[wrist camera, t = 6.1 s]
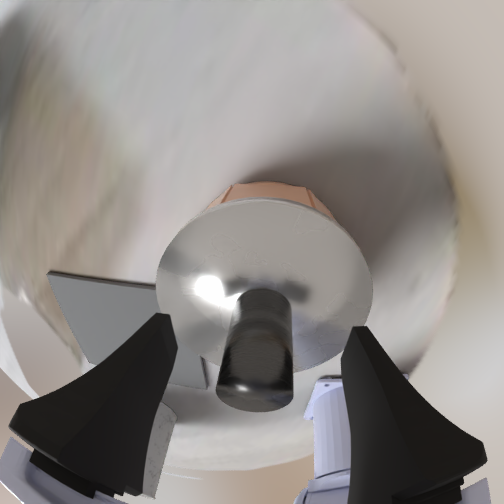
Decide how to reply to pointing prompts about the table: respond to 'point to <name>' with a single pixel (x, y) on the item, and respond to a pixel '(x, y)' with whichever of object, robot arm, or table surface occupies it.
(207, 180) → the table surface
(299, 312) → the lid
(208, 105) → the table surface
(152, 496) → the grey concrete cylinder
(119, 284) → the mat
